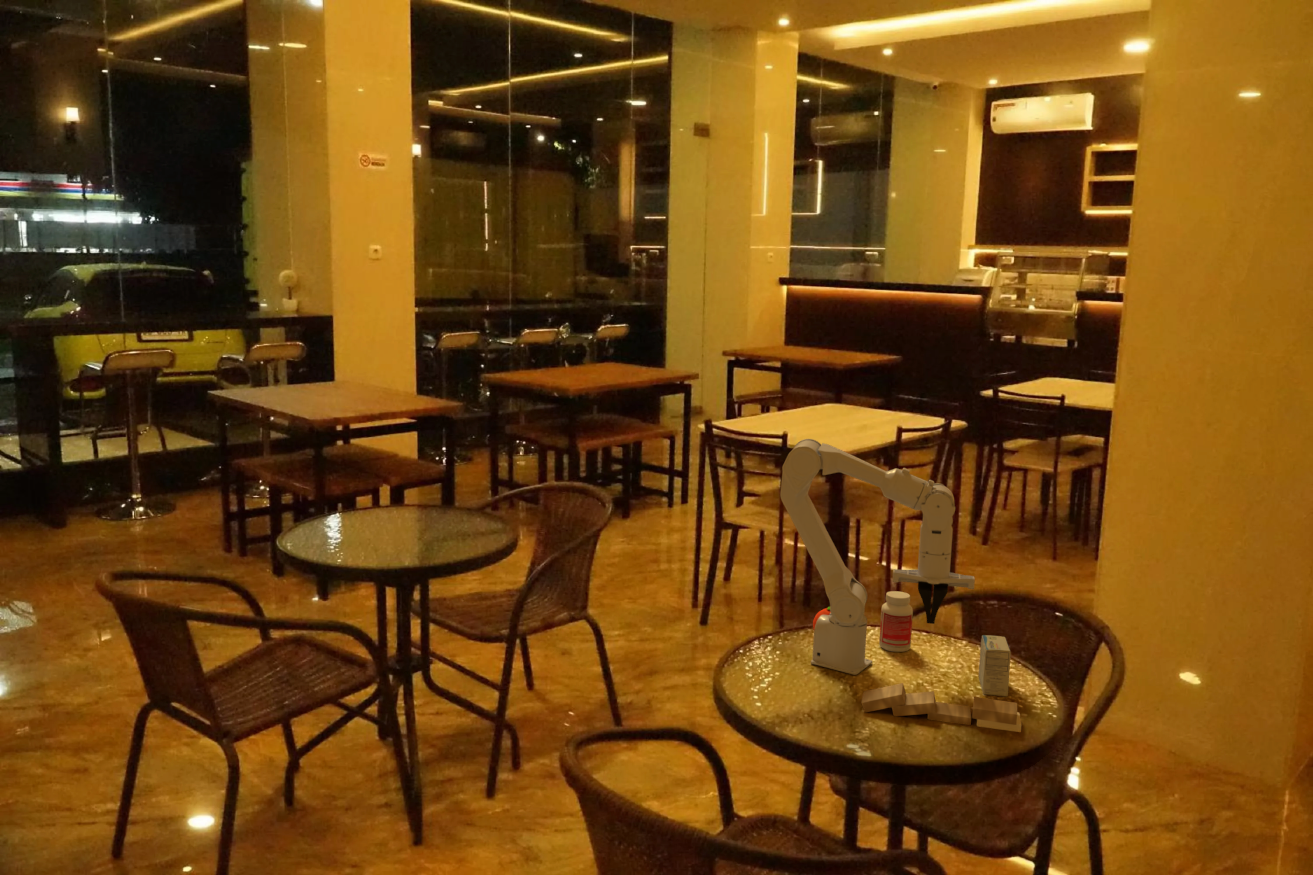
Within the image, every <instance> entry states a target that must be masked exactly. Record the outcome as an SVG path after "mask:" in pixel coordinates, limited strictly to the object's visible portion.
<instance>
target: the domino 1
mask: <svg viewBox="0 0 1313 875" xmlns="http://www.w3.org/2000/svg"><path fill="white" fill-rule="evenodd" d="M906 694H907V692H906V688H905V685H904V683H901V682H900V683H897V684H893V685H886V686H883V687H882V686H881V687H878V688H873V689H869V690H864V691H863V693H862V696H861V697H862V698H861V705H862V709H863V712H864V713H869V712H874V711H880V710H885V709H888V708H889V709H890V708H892V707H894V706H899V705H904V704H905V697H906Z"/></svg>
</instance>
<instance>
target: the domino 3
mask: <svg viewBox="0 0 1313 875" xmlns="http://www.w3.org/2000/svg"><path fill="white" fill-rule="evenodd" d="M927 720H929V721H937V722H944V723H953V724H959V725H968V726H971V725H972V724H971V723H972V711H971V706H970V705H964V704H958V703H957V704H956V703H947V702H940V701H936V713H929V714H927Z"/></svg>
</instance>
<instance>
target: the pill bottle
mask: <svg viewBox="0 0 1313 875" xmlns="http://www.w3.org/2000/svg"><path fill="white" fill-rule="evenodd" d="M885 601H886V602H885V603H883V604H882V605H881V611H880V624H879V643H878V644H879V647H881V648H882V649H883V650H885V651H889V652H895V653H900V652H901V653H902V652H903V653H904V652H908V651H909V650H910V649H911V645H912V628H913V619H914V618H913V616H914V610H913V607H912V605H910V604H911V603H910V602H911V595H910V594H909V593H907V592H905V591H904V592H903V591H897V590H896V591H895V590H892V591H887V592H886V595H885Z"/></svg>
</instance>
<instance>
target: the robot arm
mask: <svg viewBox="0 0 1313 875" xmlns="http://www.w3.org/2000/svg"><path fill="white" fill-rule="evenodd" d="M781 468H782V475H781V484H780V494H779V495H780V499H781V500H780V501H781V502H782V504H783V506H784V507H785V509H786V511H787V514H788V516H789V517H790V519H791V521H792V523H793V525H794V527H795V529H796V531H797V534H798V535H799V537H800V538H801V541H802V542H803V544H804V546H805V548H806V550H807V552H808V554H809V556H810V557H811V560H812V562H813V563H814V565H815V568H816V569H817V571H818V573H819V575H820V577H821V579H822V581H823V586H824V590H825V594H826V596H827V598H828V601H829V607H830V612H831V613H830V614H829V615H821V616H820V617H819V618H818V620H817V622H816V625H815V629H814V630H813V644H812V645H813V646H812V658H811V660H810V664H812V665H815V666H819V667H824V668H827V669H831V670H834V671H838V672H842V673H846V674H849V675H855V676H857V675H858V674H859V673H861V672H862V671H864V670H865V669H866V668H868V667H869V666H870V665H872V664H873V660H872V659H869V658H866V647H867V646H866V644H867V632H868V631H867V630H868V629H867V628H868V618H867V616H865V610H866V608H865V607H866V603H867V600H868V592H867V589H866V588H865V586H864V585H863V584H862V583H861V582H859V581H858V580H857V579H856V578H855V576H854V575H853V573H852V571H851V570H850V569H849V568H848V567H847V566H846V565H845V563H844V561H843V559H842V557H841V555H840V553H839V551H838V550H837V547H836V546H835V543H834V542H833V540H832V537H831V536H830V534H829V532H828V531H827V528H826V526H825V524H824V522H823V520H822V518H821V516H820V515H819V513H818V511H817V509H816V507H815V504H814V503H813V501H812V499H811V497H810V495H809V491H810V488H811V485H812V483H813V480H814V478H815V477H816V476H817V475H818V473H819V471H820V470H822V476H826V475H831V474H836V473H841V474H844V475H846V476H849V477H852V478H855V479H857V480H859V481H862V482H865V483H867V484H870V485H873V486H875V487H877V488H879V489H880V490H881V492H882V495H883V497H885V498H887V499H888V500H891V501H894V502H896V503H898V504H900V505H903V506H905V507H907V508H908V509H909V508H910V509H911V510H914V511H921V512H922V523H921V525H920V529H919V530H920V531H919V546H918V547H919V548H918V559H917V560H918V562H917V563H918V564H917V569H896V568H895V569H893V570H892V582H893V583H899V582H900V583H912V584H917V590H918V593H919V596H920V598H921V600H922V603H923V604H922V605H923V608H924V610H925V611H924V612H925V615H926V617H925V618H926V624H932V625H935V622H936V617H937V615H938V612H939V609H940V607H941V605H942V603H943V601H944V599H945V598H946V596H947V594H948V592H949V589H948V588H949V587H956V588H957V587H958V588H967V589H968V590H975V580H976V579H975V576H974V575H966V574H965V575H964V574H960V573H956V572H955V573H954V572H951V560H952V559H951V558H952V544H953V531H954V529H953V526H952V525H953V522H954V520H953V519H954V518H953V516H954V515H955V511H956V506H955V505H956V504H955V497H954V494H953V492H952V490H950V489H949V487H947V486H945V485H944V484H943V483H938V482H937V483H935V481H934V480H932V479H929V480H925V479H923V478H920V477H918V476H915V475H914V474H911V470H910V469H907V468H906V467H903V468H902V469H901V468H900V469H899V468H893V469H890V470H884V469H882V468H880V467H878V466H876V465H873V464H871V463H870V462H867V461H866V460H863V459H861V458H859V457H857V456H855V455H853V454H850V453H849V452H846V451H845V450H843V449H841V448H837V447H835V446H833V445H831V444H828V443H824V442H822V443H821V442H819V441H818V440H816V439H813V438H804V439H801V440H799V441H798V442H797V443H796V444H795V445H794V447H793V449H792V450H791V451H790V452H789V453H788V454H787V456H786V458H785V461H784V463H783V464H782V467H781ZM932 588H933V589H932ZM932 590H933V591H932ZM931 605H932V606H931Z"/></svg>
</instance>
